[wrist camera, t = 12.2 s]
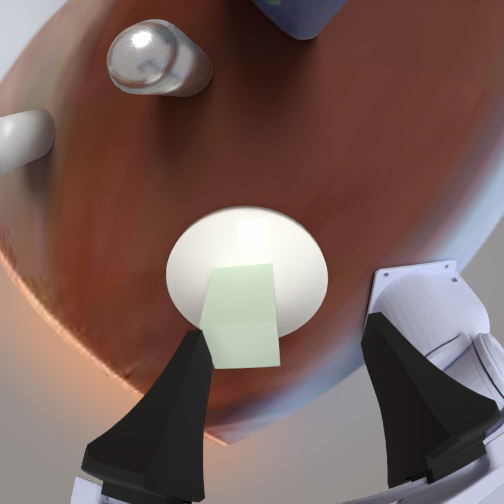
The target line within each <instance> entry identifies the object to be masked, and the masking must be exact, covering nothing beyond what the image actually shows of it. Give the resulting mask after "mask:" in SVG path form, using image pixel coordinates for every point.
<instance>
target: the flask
mask: <svg viewBox="0 0 504 504" xmlns="http://www.w3.org/2000/svg"><path fill="white" fill-rule="evenodd" d="M250 1H251V2H253V3H254V4H255V5H256V7H257V8H259V10H261V11H262V13H264V15H265V16H267V17H268V18H269V19H270V21H272V22H273V23H274V24H275V25H277V26H278V28H279V29H281V31H283V32H284V33H286V34H287V35H288V36H290V37H292V38H295V39H296V40H307V39H311V38H314V37H315V36H317V35H318V34H319V32H320V31H321V30H322V28H323V27H324V26H325V25H326V24H327V23H328V22H329V21H330V20H331V19H332V17H333V16H334V14H335V13H337V12H338V11H339V10H340V9H341V7H342V6H343V5H345V4H346V3H347V2H348V1H349V0H250Z"/></svg>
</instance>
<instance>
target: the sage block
mask: <svg viewBox="0 0 504 504" xmlns="http://www.w3.org/2000/svg"><path fill="white" fill-rule="evenodd" d="M199 326H200V329H201V330H202V331H203V334H204V337H205V340H206V343H207V345H208V348H209V351H210V354H211V356H212V361H213V364H214V367H215V369H225V368H254V367H270V366H280V355H279V339H278V324H277V310H276V298H275V286H274V275H273V264H272V263H266V264H255V265H244V266H232V267H220V268H213V269H212V273H211V277H210V281H209V285H208V290H207V294H206V298H205V302H204V306H203V311H202V315H201V319H200V324H199Z"/></svg>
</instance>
